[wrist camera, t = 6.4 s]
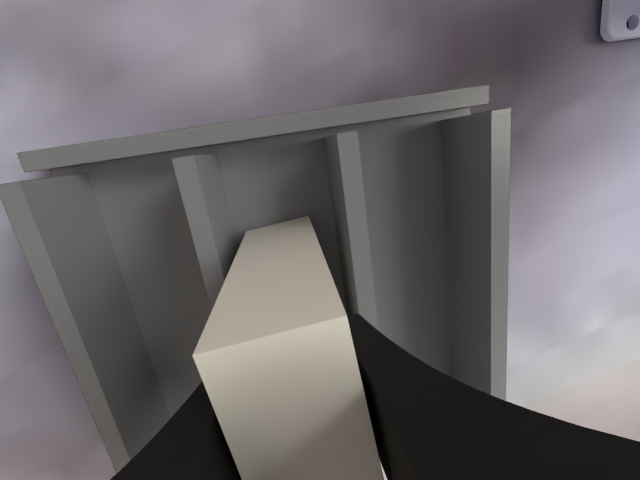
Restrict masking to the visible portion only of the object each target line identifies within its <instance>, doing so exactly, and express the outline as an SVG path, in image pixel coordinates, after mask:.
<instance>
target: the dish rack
mask: <svg viewBox="0 0 640 480" xmlns="http://www.w3.org/2000/svg"><path fill="white" fill-rule="evenodd" d="M488 103H489V85H483V86H476V87H469V88H462V89H455V90H448V91H442V92H435V93H428V94H421V95H414V96H407V97H400V98H393V99H386V100H379V101H372V102H365V103H358V104H352V105H345V106H338V107H331V108H324V109H317V110H310V111H303V112H296V113H289V114H282V115H275V116H269V117H262V118H255V119H248V120H241V121H234V122H227V123H220V124H213V125H206V126H199V127H192V128H185V129H179V130H172V131H165V132H158V133H151V134H144V135H137V136H130V137H123V138H116V139H109V140H102V141H96V142H89V143H82V144H75V145H68V146H61V147H54V148H47V149H40V150H33V151H26V152H19V153H17V155H18V158H19V160H20V163H21V165H22V168H23V170H24V172H32V171H43V170H50V172H51V174H52V178H44V179H36V180H28V181H19V182H13V183H6V184H0V198H1V201H2V203H3V205H4V208H5V210H6V212H7V215H8V217H9V219H10V222H11V224H12V227H13V229H14V231H15V234H16V236H17V238H18V241H19V243H20V246H21V248H22V250H23V253H24V255H25V257H26V260H27V262H28V265H29V267H30V269H31V272H32V274H33V276H34V279H35V281H36V283H37V286H38V288H39V291H40V293H41V295H42V298H43V300H44V302H45V305H46V307H47V310H48V312H49V314H50V317H51V319H52V321H53V324H54V326H55V328H56V331H57V333H58V336H59V338H60V340H61V343H62V345H63V347H64V350H65V352H66V355H67V357H68V359H69V362H70V364H71V366H72V369H73V371H74V373H75V376H76V378H77V381H78V383H79V385H80V388H81V390H82V392H83V395H84V397H85V400H86V402H87V404H88V407H89V409H90V411H91V414H92V416H93V419H94V421H95V423H96V426H97V428H98V430H99V433H100V435H101V437H102V440H103V442H104V445H105V447H106V449H107V452H108V454H109V456H110V459H111V461H112V464H113V466H114V468H115V471H116V473H118V472H119V471H120V470H121V469H122V468H123V467H124V466H125V465H126V464H127V463H128V462H129V461H130V460H131V459H132V458H133V457H134V456H135V455H136V454H137V453H139V452H140V451H141V450H142V449H143V448H144V446H145V445H146V444H147V443H148V442H149V441H150V440H151V439H152V438H153V437H154V436H155V435H156V434H157V433H158V432H159V431H160V430H161V429H162V427H163V426H164V425H165V424H166V423H167V422H168V421H169V420H170V418H171V417H172V416H173V415H174V414H175V413H176V412H177V410H178V409H179V408H180V407H181V406H182V405H183V404H184V402H185V401H186V400H187V399H188V398H189V397H190V395H191V394H192V393H193V392H194V391H195V389H196V388H197V387H198V386H199V384H200V383H201V382H202V378H201V376H200V373H199V371H198V368H197V366H196V363H195V361H194V358H193V356H192V355H193V353H194V351H195V348H196V346H197V344H198V341H199V339H200V337H201V335H202V332H203V330H204V328H205V325H206V323H207V321H208V318H209V316H210V314H211V311H212V309H213V307H214V305H215V302H216V300H217V298H218V295H219V293H220V291H221V288H222V286H223V284H224V281H225V279H226V277H227V275H228V272H229V270H230V268H231V265H232V263H233V261H234V258H235V256H236V254H237V251H238V249H239V247H240V244H241V242H242V240H243V238H244V235H245V233H246V231H249V230H253V229H257V228H261V227H265V226H269V225H273V224H277V223H281V222H285V221H289V220H293V219H298V218H302V217H306V216H309V218H310V221H311V223H312V226H313V229H314V231H315V234H316V236H317V239H318V242H319V244H320V247H321V249H322V252H323V255H324V257H325V260H326V262H327V265H328V268H329V270H330V273H331V275H332V278H333V281H334V283H335V286H336V288H337V291H338V294H339V296H340V299H341V301H342V304H343V307H344V309H345V312H346V314H347V316H348V315H352V314H356V313H358V314H359V315H361V316H362V317H363V318H365V319H366V320H367V321H368V322H369V323H370V324H371V325H372V326H374V327H375V328H376V329H377V330H379V331H380V332H381V333H382V334H384V335H385V336H386V337H387V338H389V339H390V340H392V341H393V342H394V343H396V344H397V345H398V346H400V347H401V348H403V349H404V350H406V351H407V352H409V353H410V354H412V355H413V356H415V357H416V358H418V359H420V360H421V361H423V362H424V363H426V364H428V365H429V366H431V367H433V368H435V369H436V370H438V371H440V372H442V373H444V374H446V375H448V376H450V377H452V378H454V379H456V380H458V381H460V382H462V383H464V384H466V385H469V386H471V387H473V388H475V389H478V390H480V391H482V392H485V393H487V394H490V395H492V396H495V397H497V398H500V399H502V400H504V401H506V363H507V306H508V250H509V193H510V136H511V108H506V109H499V110H493V111H487V112H482V113H476V114H471V112H470V107H474V106H479V105H483V104H488Z"/></svg>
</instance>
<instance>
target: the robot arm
mask: <svg viewBox="0 0 640 480" xmlns="http://www.w3.org/2000/svg"><path fill="white" fill-rule="evenodd" d="M627 21H628V24H629V26H628V28H627V25H626V23H627ZM600 33H601V36H602V38H603V39H604V40H605V41H609V42H612V41H619V40H626V39H634V38H640V0H603V2H602V14H601V25H600ZM347 318H348V322H349V327H350V331H351V336H352V340H353V345H354V349H355V353H356V358H357V362H358V367H359V371H360V376H361V380H362V385H363V389H364V393H365V398H366V402H367V407H368V411H369V416H370V420H371V424H372V429H373V433H374V438H375V442H376V447H377V451H378V455H379V459H380V462H381V464H382V467H383V469H384V472H385V474H386V477H387V479H388V480H640V442H638V441H635V440H631V439H627V438H623V437H619V436H616V435H612V434H608V433H604V432H600V431H597V430H593V429H589V428H585V427H582V426H578V425H575V424H572V423H568V422H565V421H562V420H559V419H556V418H553V417H550V416H547V415H544V414H541V413H538V412H535V411H532V410H529V409H526V408H523V407H521V406H518V405H515V404H512V403H510V402H507V401H504V400H502V399H500V398H497V397H495V396H492V395H490V394H487V393H485V392H482V391H480V390H478V389H475V388H473V387H471V386H469V385H466V384H464V383H462V382H460V381H458V380H456V379H454V378H452V377H450V376H448V375H446V374H444V373H442V372H440V371H438V370H436V369H435V368H433V367H431V366H429V365H428V364H426V363H424V362H423V361H421V360H420V359H418V358H416V357H415V356H413V355H412V354H410V353H409V352H407V351H406V350H404V349H403V348H401V347H400V346H398V345H397V344H396V343H394V342H393V341H392V340H390V339H389V338H387V337H386V336H385V335H384V334H382V333H381V332H380V331H379V330H377V329H376V328H375V327H374V326H372V325H371V324H370V323H369V322H368V321H367V320H366V319H365V318H363V317H362V316H361V315H359V314H358V313H356V314H352V315H348V316H347ZM110 480H242V479H241V476H240V474H239V471H238V469H237V466H236V464H235V461H234V459H233V456H232V454H231V451H230V449H229V446H228V444H227V441H226V439H225V436H224V434H223V431H222V429H221V426H220V424H219V421H218V419H217V416H216V414H215V411H214V409H213V406H212V404H211V401H210V399H209V396H208V393H207V391H206V388H205V386H204V383H203V381H202V382H201V383H200V384H199V386H198V387H197V388H196V389H195V391H194V392H193V393H192V394H191V395H190V397H189V398H188V399H187V400H186V401H185V402H184V404H183V405H182V406H181V407H180V408H179V409H178V410H177V412H176V413H175V414H174V415H173V416H172V417H171V418H170V420H169V421H168V422H167V423H166V424H165V425H164V426H163V427H162V429H161V430H160V431H159V432H158V433H157V434H156V435H155V436H154V437H153V438H152V439H151V440H150V441H149V442H148V443H147V444H146V445H145V446H144V448H143V449H142V450H141V451H140V452H139V453H137V454H136V455H135V456H134V457H133V458H132V459H131V460H130V461H129V462H128V463H127V464H126V465H125V466H124V467H123V468H122V469H121V470H120V471H119V472H118V473H117V474H116V475H115V476H114V477H113V478H112V479H110Z"/></svg>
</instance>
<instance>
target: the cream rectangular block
mask: <svg viewBox="0 0 640 480" xmlns="http://www.w3.org/2000/svg"><path fill="white" fill-rule="evenodd" d="M192 356H193V358H194V361H195V363H196V366H197V368H198V371H199V373H200V376H201V378H202V381H203V383H204V386H205V388H206V391H207V393H208V396H209V399H210V401H211V404H212V406H213V409H214V411H215V414H216V416H217V419H218V421H219V424H220V426H221V429H222V431H223V434H224V436H225V439H226V441H227V444H228V446H229V449H230V451H231V454H232V456H233V459H234V461H235V464H236V466H237V469H238V471H239V474H240V476H241V479H242V480H384V478H383V473H382V469H381V464H380V460H379V455H378V451H377V447H376V442H375V438H374V433H373V429H372V424H371V420H370V416H369V411H368V407H367V402H366V398H365V393H364V389H363V385H362V380H361V376H360V371H359V367H358V362H357V358H356V353H355V349H354V345H353V340H352V336H351V331H350V327H349V322H348V318H347V314H346V312H345V309H344V307H343V304H342V301H341V299H340V296H339V294H338V291H337V288H336V286H335V283H334V281H333V278H332V275H331V273H330V270H329V268H328V265H327V262H326V260H325V257H324V255H323V252H322V249H321V247H320V244H319V242H318V239H317V236H316V234H315V231H314V229H313V226H312V223H311V221H310V218H309V216H306V217H302V218H298V219H293V220H289V221H285V222H281V223H277V224H273V225H269V226H265V227H261V228H257V229H253V230H249V231H246V233H245V235H244V238H243V240H242V242H241V244H240V247H239V249H238V251H237V254H236V256H235V258H234V261H233V263H232V265H231V268H230V270H229V272H228V275H227V277H226V279H225V281H224V284H223V286H222V288H221V291H220V293H219V295H218V298H217V300H216V302H215V305H214V307H213V309H212V311H211V314H210V316H209V318H208V321H207V323H206V325H205V328H204V330H203V332H202V335H201V337H200V339H199V341H198V344H197V346H196V348H195V351H194V353H193V355H192Z"/></svg>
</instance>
